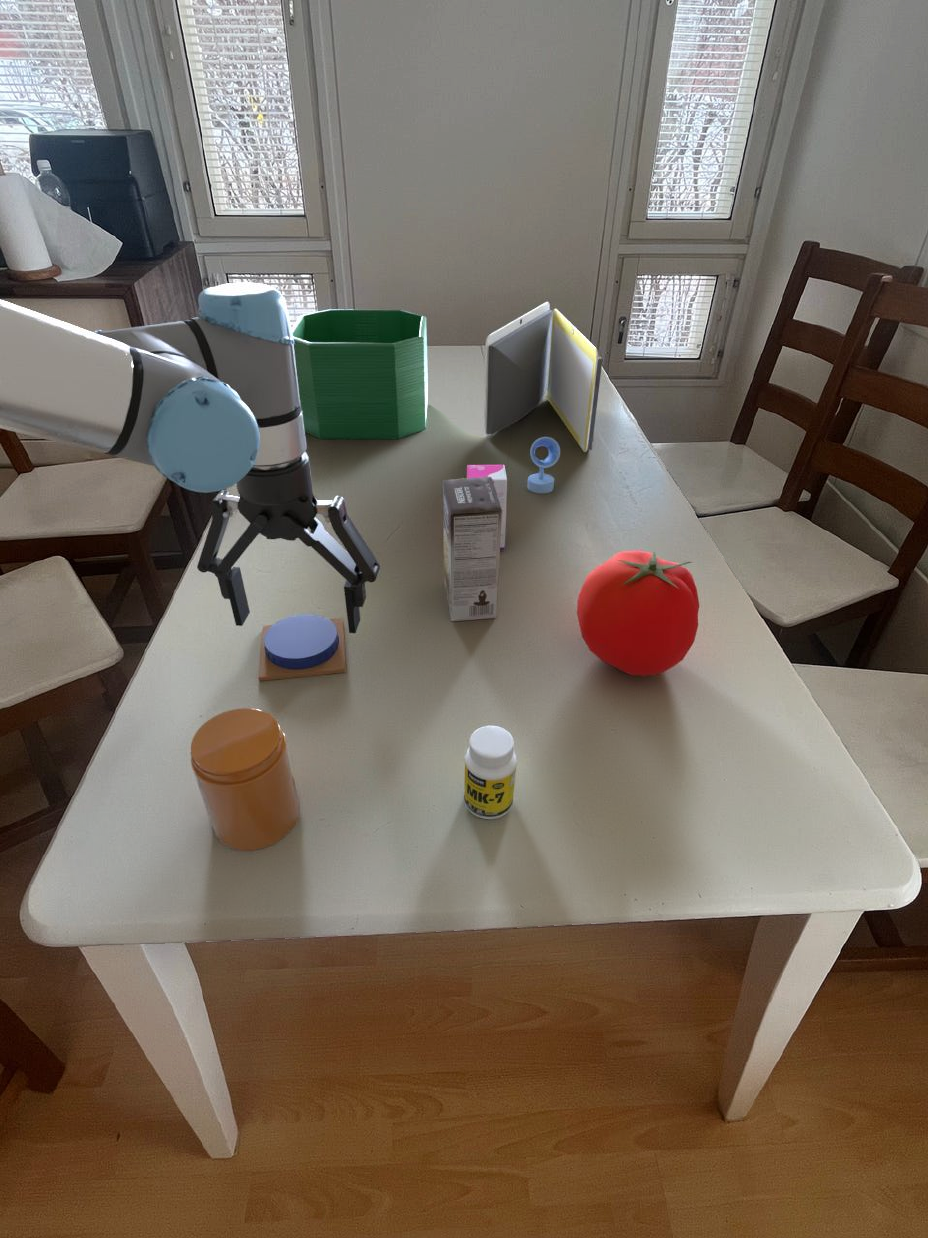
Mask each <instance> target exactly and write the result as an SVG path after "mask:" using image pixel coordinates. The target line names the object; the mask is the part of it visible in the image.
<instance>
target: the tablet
mask: <svg viewBox="0 0 928 1238" xmlns="http://www.w3.org/2000/svg"><path fill="white" fill-rule="evenodd" d="M550 307H551V306H550V302H549V301H546V302H544V303H542V304H540V305H539V306H537V307H535V308H534V309H532V310H530V311H528V312H526V313H524V314H523V315H522V316H519V317H517V318H516V319H514V320H512V321H510V322H509V323H507V324H506V325H504V326H502V327H500V328H499V329H497V330H494V331H493V332H492V333H490V334H488V335H487V336H486V339H485V348H484V349H485V353H484V355H485V356H484V357H485V358H484V367H485V368H484V403H483V405H484V406H483V407H484V409H483V434H484V436H489V435H494V434H496V433H498V432H500V431H501V430H503V429H505V428H507V427H509V426H511V425H513V424H514V423H517V422H519V421H520V420H521V419H523V418H524V417H525V416H526V415H528V414H529V413H530V412H532V410H533V409H535V408H536V407H537V406H538V405H539V404H540V402H541V401H542V399H543V397H544V396H545V394H546V398H547V400H548V402H549V403H550V405H551V407H552V408H553V409H554V410H555V412H556V413H557V415H558V416H559V418H560V419H561V421H562V423H564V425H565V426H566V428H567V430H568V431H569V432H570V434H571V436H572V437H573V439H574V440H575V441H576V443H577V444H578V445H579V447H580V448H581V450H582V452H584V453H585V452H587V451H591V450H592V449H593V443H594V442H593V441H594V435H595V426H596V416H597V409H598V401H599V392H600V383H601V376H602V375H601V374H602V367H603V358H602V357H601V356H600V355H599V350H598V349H597V347H596V346H595V345H594V344H593V343H591V341H590V340H589V339H587V338H586V336H585V335H584V334H582V333H581V331H579V330H578V329H577V327H576V326H575V325H573V324H572V322H570V320H568V319H567V317H565V316H564V315H563V314H562V313H561V312H560V311H559V310H558V309H557V308H554V309H553V310H552V309H550Z"/></svg>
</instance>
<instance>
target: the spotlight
mask: <svg viewBox="0 0 928 1238" xmlns="http://www.w3.org/2000/svg"><path fill="white" fill-rule="evenodd" d="M539 447H545V448H546V449H547V451H548V455H547V456H546V458H545V459H538V458H537V457H536V450H537V449H538V448H539ZM529 456H530V459H531V461H532V462H533V464H534V465H536V466H537V467H539V471H538V472H536V473H532V474H530V475H529V476H528V477H527V483H526V485H527V489H528V491H530V492H532V493H535V494H548V493H551V492H552V491H553V490H554V485H555V478H554V477H553V476H552V475H551V474H548V473H545V468H547V469H548V468H550V467H553V466H554V465H555V464H557V462H558V461H559V459H560V457H561V448H560V445H559V443H558V442H557V440H555V439H554V438H553V437H550V436H541V437H539V438H537V439H536V440H535V441H533V443H532V444H531V446H530V450H529Z"/></svg>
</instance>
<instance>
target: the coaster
mask: <svg viewBox="0 0 928 1238" xmlns="http://www.w3.org/2000/svg"><path fill="white" fill-rule="evenodd" d="M328 619H329V620H330V621H332V622H333V623H334V625H335V626H336V629H337V633H338V637H339V643H338V649H337V650H336V652H335V653H334V655H333V656H332V657H331V658H330V659H328V660H327V661H325V662H324V663H322V664H320V665H317V666H315V667H311V668H307V669H297V670H295V669H286V668H281V667H279V666H277V665H275V664H274V663H272V662H271V661H270V660H269V658H268V656H267V655H266V652H265V648H264V647H265V644H264V637H265V634H266V632H267V631H268V629H269V628H270V627H271V626H272V625H273V624H267V625H265V624H264V625H263V626H262V635H261V636H262V637H261V646H260V657H259V665H258V677H257V679H258V681H259V682H264V681H274V680H275V681H276V680H284V679H285V680H286V679H295V678H303V677H310V676H311V677H312V676H322V675H332V674H333V675H334V674H341V673H346V672H347V670H346V669H347V668H346V666H347V665H346V649H345V647H346V646H345V629H344V618H343V617H339V618H331V619H330V618H328Z"/></svg>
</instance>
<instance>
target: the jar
mask: <svg viewBox="0 0 928 1238" xmlns="http://www.w3.org/2000/svg"><path fill="white" fill-rule="evenodd" d="M190 765H191V769H192V771H193V774H194V775H193V776H194V777H195V780H196V781H195V782H196V783H197V787H198V789H199V792H200V796H201V797H202V801H203V803H204V806H205V809H206V812H207V815H208V818H209V821H210V824H211V827H212V830H213V833H214V835H215V837H216V838H217V840H218V841H219V842H221V843H222V844H223V845H225V846H226V847H227V848H230V849H234V850H236V851H245V852H247V851H248V852H249V851H256V850H257V851H258V850H261V849H265V848H267V847H270V846H272V845H274V844H276V843H277V842H279V841H280V840H282V839H283V838H285V837H286V836H287V835H288V834H289V833H290V831H292V829H293V828H294V826H295V825H296V823H297V821H298V818H299V815H300V809H301V807H300V800H299V794H298V789H297V785H296V780H295V776H294V771H293V766H292V761H291V757H290V752H289V748H288V743H287V739H286V735H285V733H284V731H283V729H282V728H281V727H280V725H279V722H278V720H277V719H276V718H275V717H274V716H273V715H271V714H269V712H267V711H264V710H262V709H258V708H252V707H249V708H248V707H242V708H234V709H230V710H227V711H224V712H221V713H218V714H217V715H214V716H212V717H211V718H210V719H208V720H207V721H206V722H204V723H203V724H202V725H201V726H200V727H199V728H198V729H197V730H196V732H195V733H194V735H193V737H192V740H191V744H190Z"/></svg>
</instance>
